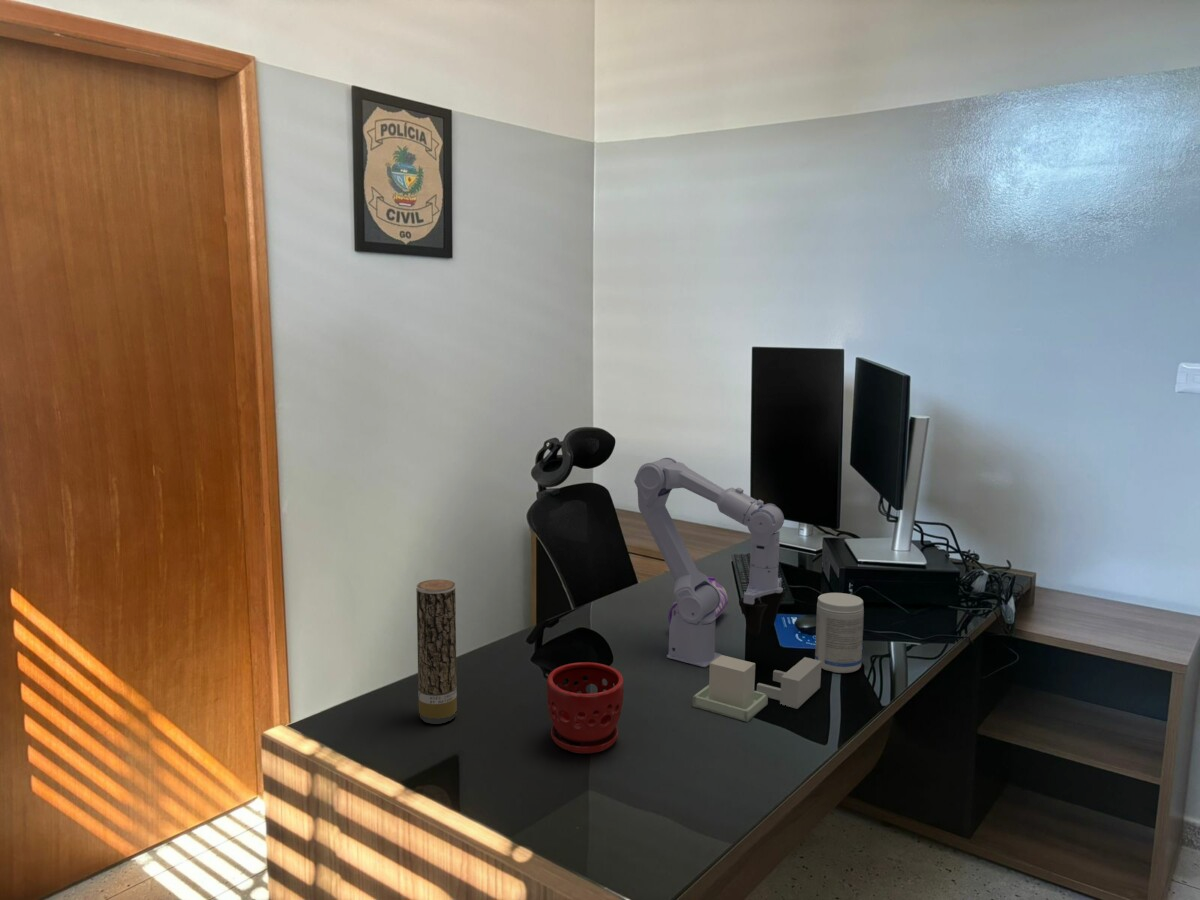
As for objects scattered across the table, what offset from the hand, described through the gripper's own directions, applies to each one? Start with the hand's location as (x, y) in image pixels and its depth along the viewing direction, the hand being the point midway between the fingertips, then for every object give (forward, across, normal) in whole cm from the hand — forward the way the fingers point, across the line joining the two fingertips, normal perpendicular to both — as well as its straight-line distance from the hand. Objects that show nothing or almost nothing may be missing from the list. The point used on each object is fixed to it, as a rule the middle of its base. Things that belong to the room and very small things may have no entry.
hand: (761, 628), depth 181 cm
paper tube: (+10, -54, +39) cm, 67 cm away
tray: (+9, -18, -2) cm, 20 cm away
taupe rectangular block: (+9, -18, -2) cm, 20 cm away
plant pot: (+10, -46, +12) cm, 48 cm away
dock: (+9, -6, -8) cm, 14 cm away
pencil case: (+10, +18, +24) cm, 31 cm away
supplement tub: (+10, +13, -12) cm, 20 cm away
